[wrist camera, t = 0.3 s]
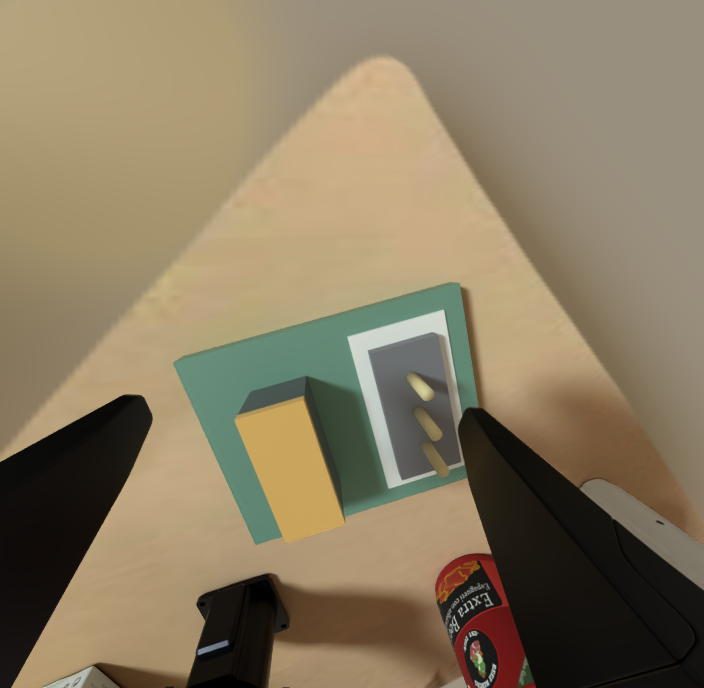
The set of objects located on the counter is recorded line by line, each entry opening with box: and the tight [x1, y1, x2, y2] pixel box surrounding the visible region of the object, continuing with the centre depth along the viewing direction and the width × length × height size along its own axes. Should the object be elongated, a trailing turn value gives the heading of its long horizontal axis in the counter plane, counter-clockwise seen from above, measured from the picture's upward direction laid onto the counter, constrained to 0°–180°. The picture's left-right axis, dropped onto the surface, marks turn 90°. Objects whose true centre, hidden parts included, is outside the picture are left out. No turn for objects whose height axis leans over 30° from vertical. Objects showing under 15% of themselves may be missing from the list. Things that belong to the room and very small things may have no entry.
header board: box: [173, 282, 479, 545], centre depth 20 cm, size 16×20×6 cm
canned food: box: [435, 554, 536, 688], centre depth 23 cm, size 8×8×11 cm
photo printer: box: [580, 479, 704, 590], centre depth 23 cm, size 10×4×12 cm, turn 1°
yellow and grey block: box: [234, 376, 345, 543], centre depth 19 cm, size 9×4×4 cm, turn 15°
